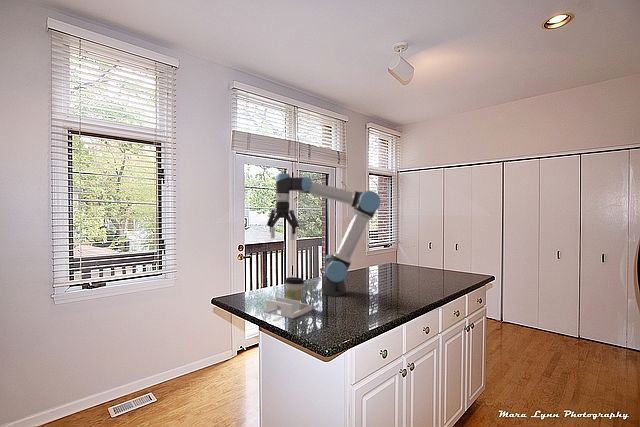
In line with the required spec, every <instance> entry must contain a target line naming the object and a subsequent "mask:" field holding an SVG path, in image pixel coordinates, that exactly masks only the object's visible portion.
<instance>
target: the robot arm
mask: <svg viewBox="0 0 640 427" xmlns="http://www.w3.org/2000/svg"><path fill="white" fill-rule="evenodd" d="M275 180H276V181H275V209H271V213H270V215H269V218H268V220H267V223H266V226H267V227H269V233H270V239H275V237H276V236H275V234H276V233H275V232H276V231H275V225H276V224H277V222H278V221H279V219H285V220H287V222H288V223H289V225H290V241H294V240H295V235H296V233H297V232H296V231H297V230H296V229H297V228H298V227H299V226H300V225H299V222H298V219H297V218H296V217H297V216H296V215H295V210H294V209H290V201H291V200H290V196H291V194H290V191H291V192H292V191H293V192H298V193H304V194H307V195H313V196H317V197H320V198H323V199H327V200H332V201H335V202H339V203H343V204H346V205H349V206H350V207H352V208H353V213H354V214H353V216H352V217H351V220H350V222H349V224H348V226H347V228H346V230H345V233H344V235H343V236H342V238H341V241H340V243H339V245H338V247H337V249H336V251H335V252H333V253H331V254H326V256H325V259H324V261H325V262H324V263H325V265H324V266H325V268H324V270H325V271H324V282H323V286H322V288H321V293H322V295H325V296H330V297H343V296H346V295H347V294H348V288H347V285H346V282H345V278H347V277H348V276H347V275H348V270H349V269H350V266H351V264H352V260H351V258H352V256H353V254H354V251H355V250H356V247H357V245H358V243H359V241H360V239H361V238H362V234H363V232H364V230H365V228H366V227H367V224H368V222H369V220H372V219H373V218H374V216H375V214H376V211H378V210H379V208H380V206H381V197H380V195H379V194H378V193H377V192H375V191H373V190H365V191H363V192H362V191H357V190H353V191H350V190H346V189H342V188H338V187H334V186H330V185H326V184H322V183H318V182H313V181H312V178H310V177H306V176H305V177H294V176H291V175H290V174H289V173H286V172H285V173H283V172H282V173H281V172H280V173H277V174H276V178H275ZM345 294H346V295H345ZM342 295H343V296H342Z"/></svg>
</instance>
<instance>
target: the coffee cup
mask: <svg viewBox="0 0 640 427" xmlns="http://www.w3.org/2000/svg"><path fill="white" fill-rule="evenodd" d="M284 283H285V287H284V288H285V298H287V299H292V300H297V301H300V302H301V300H302V299H301V298H302V295H303V289H304V288H303V286H304V284H305V281H304V279H303V278H302V277H293V276H292V277H286V278H285V280H284Z"/></svg>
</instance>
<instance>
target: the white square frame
mask: <svg viewBox="0 0 640 427" xmlns="http://www.w3.org/2000/svg"><path fill="white" fill-rule="evenodd" d="M277 305H278V306H281V309H280V316H281V317H285V318H289V319H296V318H298V317H300V316H302V315H304V314H306V313H309V312H310V311H312V310H314V305H312V304H308V303H302V302H300V310H299V311H296V312H293V304H288V303H283V302H278V301H276V300H272V299H266V300H265V307H264V308H263V309H264V310H263V312H265V313H267V314H268V311H271V310H273V309H276V308H277ZM271 314H272V315H277V314H278V310H277V311H274V312H272V313H271Z"/></svg>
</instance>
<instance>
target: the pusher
mask: <svg viewBox="0 0 640 427" xmlns="http://www.w3.org/2000/svg"><path fill="white" fill-rule="evenodd" d="M275 301H278V302H283V303H288V304H293V313H294V312H296V311H299V310H301V308H300V303H301V300H300V301H297V300H292V299H287V298H286V297H280V296H275ZM279 310H281V306H278V305H277V308H276V309H273V310H271V311H268V313H267V314H268V315H269V314H272V312H274V311H277V312H278V311H279Z"/></svg>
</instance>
